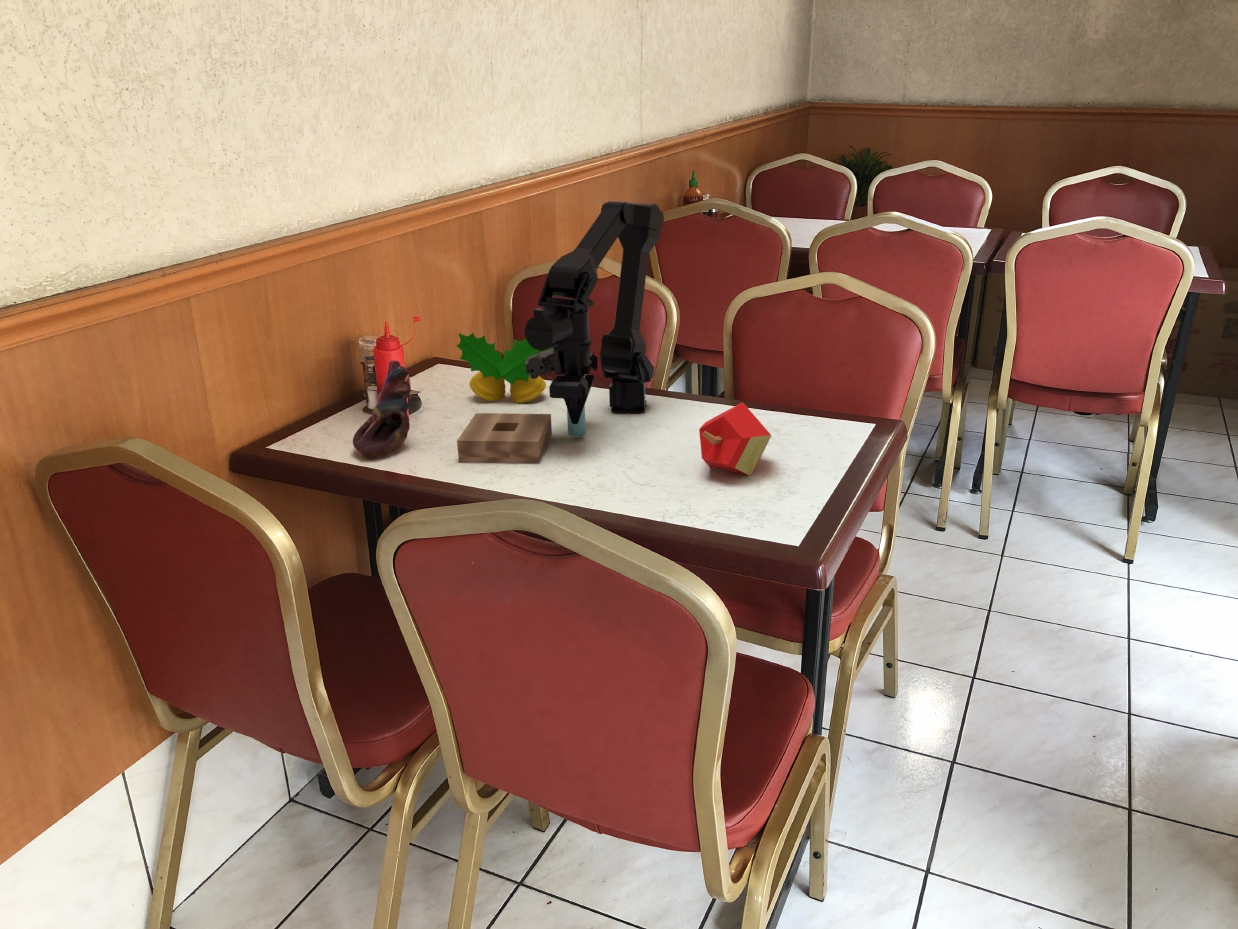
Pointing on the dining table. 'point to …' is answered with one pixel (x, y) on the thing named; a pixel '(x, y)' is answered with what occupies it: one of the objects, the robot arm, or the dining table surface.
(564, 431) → the dining table surface
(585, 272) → the robot arm
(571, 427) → the dowel
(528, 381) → the ornament
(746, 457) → the apple
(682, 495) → the dining table surface
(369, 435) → the anatomical model
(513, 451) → the hole block
